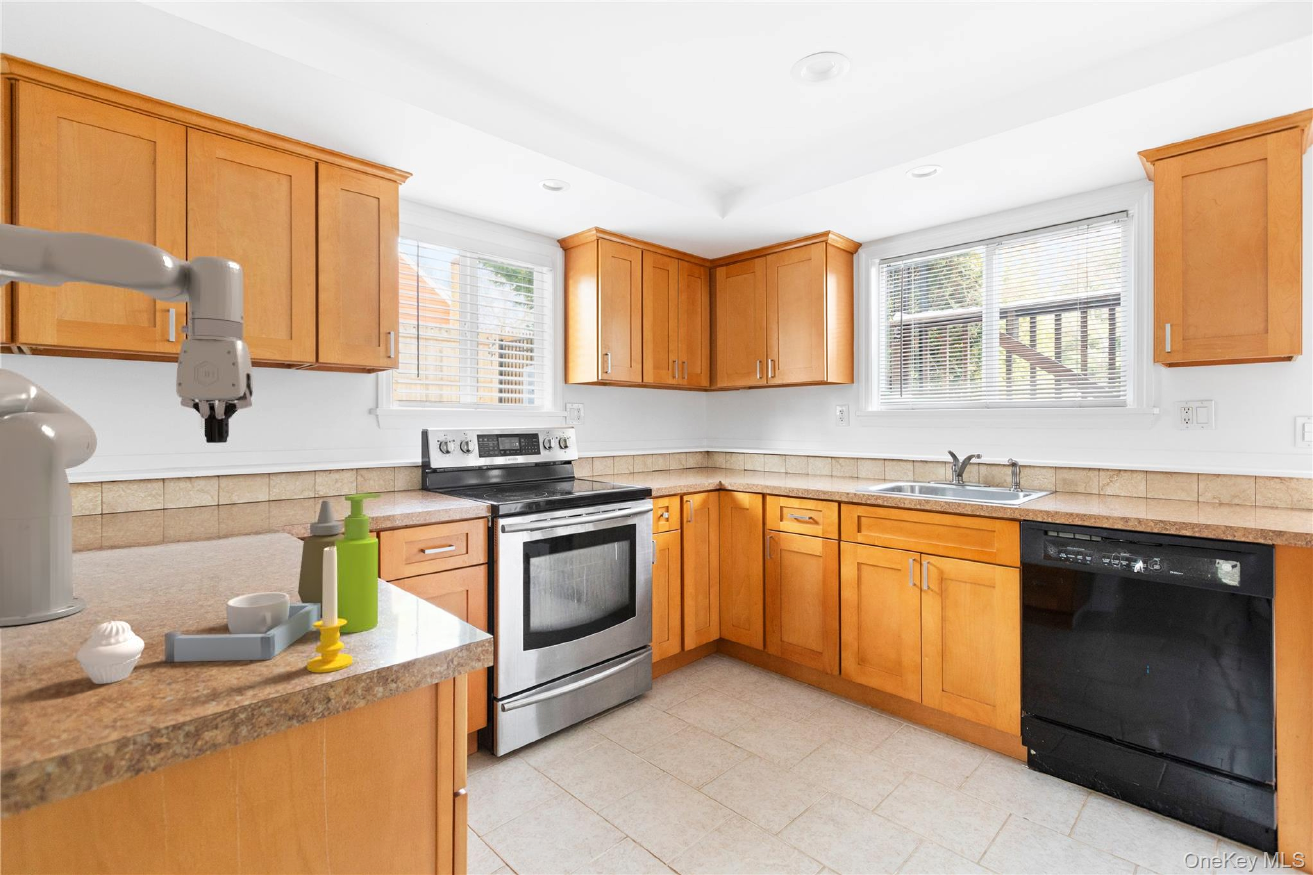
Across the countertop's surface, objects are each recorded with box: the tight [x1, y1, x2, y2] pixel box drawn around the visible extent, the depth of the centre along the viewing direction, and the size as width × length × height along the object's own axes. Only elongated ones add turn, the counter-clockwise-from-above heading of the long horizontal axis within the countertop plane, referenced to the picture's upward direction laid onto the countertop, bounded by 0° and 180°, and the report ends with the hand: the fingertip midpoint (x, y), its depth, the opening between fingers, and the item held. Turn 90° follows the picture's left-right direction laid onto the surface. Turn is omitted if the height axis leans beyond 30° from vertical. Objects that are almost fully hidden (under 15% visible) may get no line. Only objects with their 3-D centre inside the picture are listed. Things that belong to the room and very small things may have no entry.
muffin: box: [76, 620, 145, 685], centre depth 76 cm, size 6×6×7 cm
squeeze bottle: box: [297, 499, 344, 616], centre depth 104 cm, size 8×8×18 cm
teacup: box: [225, 591, 291, 634], centre depth 91 cm, size 10×8×5 cm
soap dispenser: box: [335, 492, 381, 634], centre depth 97 cm, size 6×7×20 cm
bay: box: [164, 602, 322, 663], centre depth 90 cm, size 13×16×4 cm
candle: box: [306, 546, 354, 674], centre depth 82 cm, size 5×5×16 cm
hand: (216, 442), depth 108 cm, fingers closed
